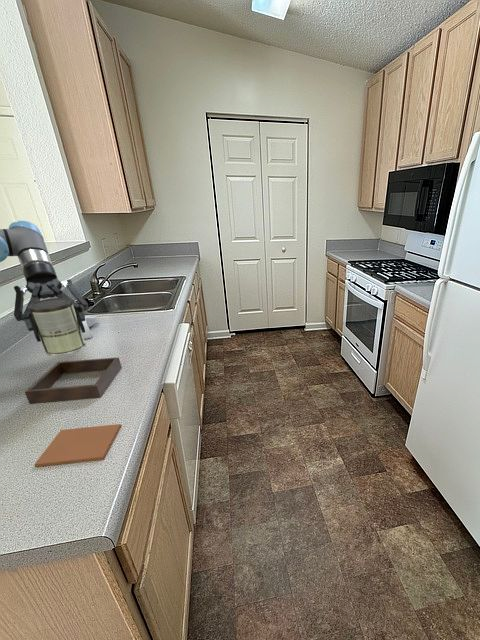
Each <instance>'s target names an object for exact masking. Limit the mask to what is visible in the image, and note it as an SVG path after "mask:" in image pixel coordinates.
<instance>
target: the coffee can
mask: <svg viewBox="0 0 480 640" xmlns="http://www.w3.org/2000/svg"><path fill="white" fill-rule="evenodd" d="M72 300H73V299H72V298H71V299H69V298H57V297H53V298H46V299H40V301H37V302H34V303H32V304H30V305H28V304H27V305H28V309H29V310H30V313H31V315H32V318H33V321H34V323H35V326H36V328H37V331H38V334H39V337H40V340H41V341H40V342H41V343H42V346H43V349H44V351H45V355H47V356H49V357H63V356H69V355H72V354H75V353H78V352H80V351H82V350H84V349H85V348H87V343H86V341H85V339H84V337H83V334H82V331H81V328H80V325H79V322H78V318H77V315H76V312H75V309H74V306H73V301H72Z"/></svg>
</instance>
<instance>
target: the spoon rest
mask: <svg viewBox="0 0 480 640" xmlns="http://www.w3.org/2000/svg"><path fill="white" fill-rule="evenodd" d="M84 316H85V321H82V323H83V325H84V328H85V332H84V333H82V334H83V337H84V340H85V339H91V338H93V337H94V335H93V333H92V331H91V329H90V328H91V327H93V326H94V325H95V323H96V322H97V319H98V316H97V315H94V314H92V315H90V314H89V315H84ZM81 331H82V330H81Z"/></svg>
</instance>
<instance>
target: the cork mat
mask: <svg viewBox="0 0 480 640" xmlns="http://www.w3.org/2000/svg"><path fill="white" fill-rule="evenodd" d="M121 428H122V424H121V423H117V424H107V425H96V426H87V427H78V428H77V427H76V428H67V429H66V428H65V429H60V430H59V432H58V433H57V435H56V436H55V437H54V438H53V440H52V441H51V442H50V443H49V445H48V446H47V447H46V449H45V450H44V451H43V453H42V454H41V455H40V456H39V458H38V459H36V461H35V463H34V464H33V465H34V467H35V468H40V467H49V466H59V465H67V464H76V463H85V462H93V461H103V460H104V461H105V458H106V456H107V455H108V452H109V451H110V448H111V447H112V445H113V443H114V441H115V439H116V438H117V435H118V434H119V431H120V429H121Z"/></svg>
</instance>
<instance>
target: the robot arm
mask: <svg viewBox="0 0 480 640" xmlns="http://www.w3.org/2000/svg"><path fill="white" fill-rule="evenodd" d="M8 257H17V258H18V261H19V265H20V268H21V269H22V272H23V276H24V279H25V281H26V284H25V285H24V286H19V285H15V286H13V289H14V291H15V301H14V310H13V316H14V318H15V320H16V321H17V322H21V321H22V322H24V324H25V326H26V329H27V331H28V332H32V331H33V334H34V337H35V339H36V341H37V343H38V342H42V341H41V339H40V336H39V333H38V331H37V328H36V326H35V323H34V321H33V318H32V315H31V313H30V310H29V309H28V305H30V304H32V303H34V302H37V301H41V300H46V299H53V298H69V299H72V298H71V297H70V296H68V295H67V294H66V293H64V292H63V290H62V288H63V287H64V288H65V289H66V290H68V291H69V293H70V294H71V295H72V296H73V298H74V299H75V300H76V301H75V300H74V299H72V301H73V306H74V309H75V312H76V315H77V318H78V322H79V325H80V328H81V330H82V333H84V332H85V328H84V325H83V323H82V321H85V316H86V315H85V313H84V311H87V310H89V303H88V301H86V299H84V297H83V296H82V295H81V293H80V292H79V291H78V290H77V289H76V288H75V286H74V284H73V281H72V279H67V280H66V281H61V280H60V279H59V278H58V275H57V272H56V270H55V267H54V264H53V262H52V258H51V256H50V254H49V250H48V248H47V245H46V242H45V238H44V236H43V234H42V232H41V230H40V228H39V226H37V225H36V224H34V223H33V222H31V221H27V220H18V221H13V222H11V223H10V224H9V226H8V228H3V229H2V228H0V263H2V262H4V261H5V260H6V259H7V258H8ZM27 292H29V293H30V294H31V295H30V299H29V301H28V303H27V305H26V307H25V309H24V300H25V298H24V296H26V294H27Z"/></svg>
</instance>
